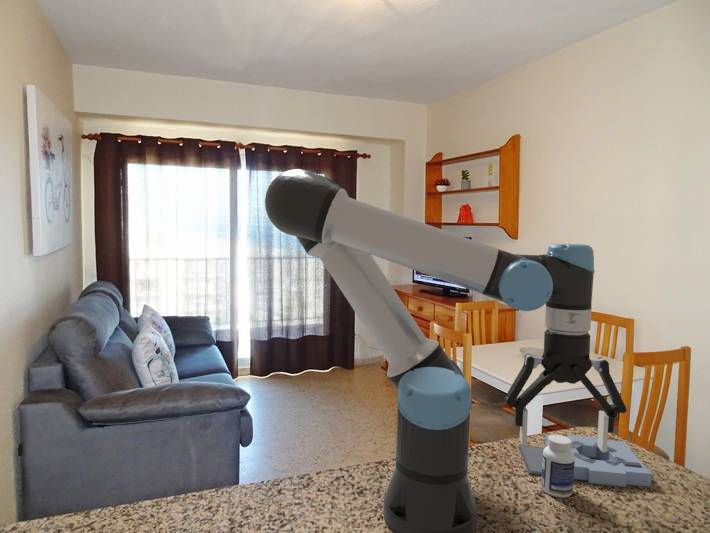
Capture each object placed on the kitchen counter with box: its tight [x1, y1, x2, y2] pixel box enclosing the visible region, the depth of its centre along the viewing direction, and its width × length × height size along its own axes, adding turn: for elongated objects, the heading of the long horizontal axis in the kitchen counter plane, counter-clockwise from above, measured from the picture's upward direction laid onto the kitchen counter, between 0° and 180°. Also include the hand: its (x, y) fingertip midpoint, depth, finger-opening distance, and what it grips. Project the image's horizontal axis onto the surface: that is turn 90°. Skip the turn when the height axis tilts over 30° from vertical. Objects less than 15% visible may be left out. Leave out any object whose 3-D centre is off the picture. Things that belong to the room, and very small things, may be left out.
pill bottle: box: [540, 434, 575, 499], centre depth 89 cm, size 5×5×10 cm
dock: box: [544, 434, 653, 488], centre depth 100 cm, size 16×16×3 cm
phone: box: [517, 444, 545, 477], centre depth 101 cm, size 12×6×1 cm, turn 171°
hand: (561, 446), depth 89 cm, fingers open, 13 cm apart
